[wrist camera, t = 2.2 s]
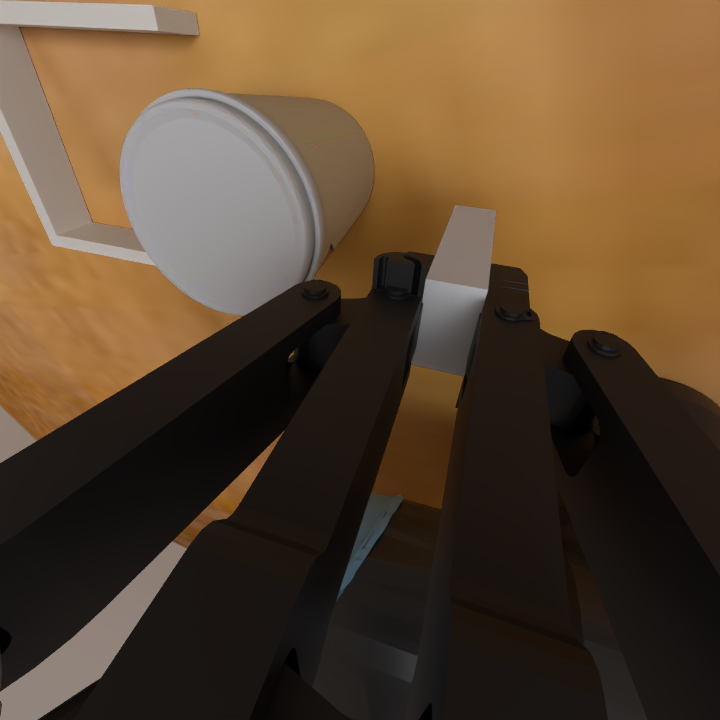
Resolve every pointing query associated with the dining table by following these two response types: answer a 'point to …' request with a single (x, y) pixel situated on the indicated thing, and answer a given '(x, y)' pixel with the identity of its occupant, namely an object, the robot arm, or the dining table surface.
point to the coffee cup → (242, 191)
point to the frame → (36, 124)
